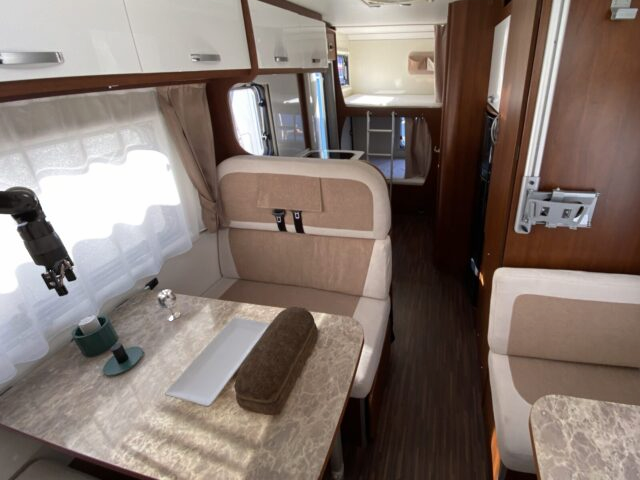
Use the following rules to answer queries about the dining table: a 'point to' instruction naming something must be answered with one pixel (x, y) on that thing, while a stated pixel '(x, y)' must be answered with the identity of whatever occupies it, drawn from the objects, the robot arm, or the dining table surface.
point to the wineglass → (168, 302)
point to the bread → (276, 362)
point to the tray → (217, 362)
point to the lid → (122, 359)
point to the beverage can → (89, 324)
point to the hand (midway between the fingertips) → (68, 287)
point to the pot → (96, 338)
